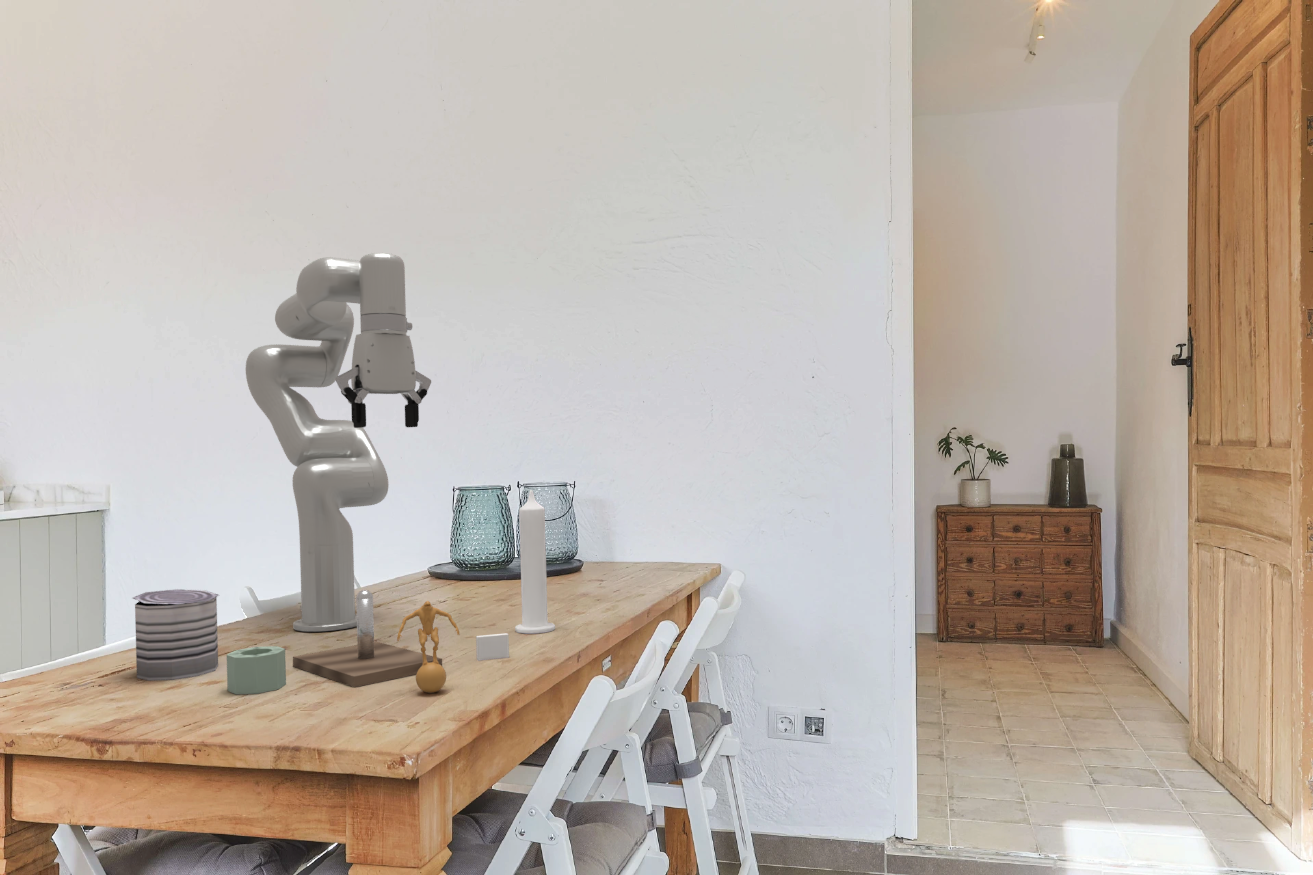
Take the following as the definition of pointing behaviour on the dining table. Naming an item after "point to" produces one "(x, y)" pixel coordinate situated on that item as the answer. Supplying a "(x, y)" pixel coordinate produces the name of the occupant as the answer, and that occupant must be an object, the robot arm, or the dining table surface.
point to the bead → (256, 670)
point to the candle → (533, 569)
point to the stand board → (362, 664)
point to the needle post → (365, 625)
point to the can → (176, 634)
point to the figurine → (431, 673)
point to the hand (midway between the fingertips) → (386, 427)
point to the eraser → (492, 646)
